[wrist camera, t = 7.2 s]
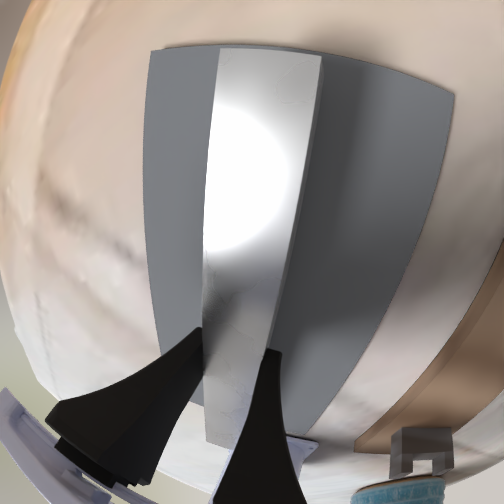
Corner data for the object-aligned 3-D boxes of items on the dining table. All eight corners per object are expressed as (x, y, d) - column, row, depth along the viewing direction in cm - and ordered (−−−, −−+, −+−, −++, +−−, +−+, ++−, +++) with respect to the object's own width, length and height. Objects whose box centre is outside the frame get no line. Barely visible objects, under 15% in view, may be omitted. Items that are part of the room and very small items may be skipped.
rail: (246, 426, 18) (237, 451, 16) (217, 417, 18) (206, 441, 16) (324, 73, 7) (321, 55, 5) (248, 64, 7) (220, 48, 5)
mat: (305, 429, 19) (304, 434, 18) (172, 387, 21) (169, 392, 20) (448, 95, 7) (454, 94, 6) (159, 52, 9) (151, 51, 8)
